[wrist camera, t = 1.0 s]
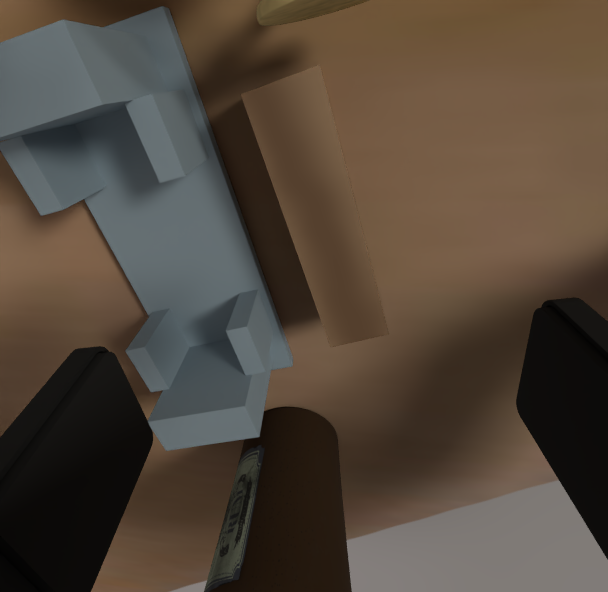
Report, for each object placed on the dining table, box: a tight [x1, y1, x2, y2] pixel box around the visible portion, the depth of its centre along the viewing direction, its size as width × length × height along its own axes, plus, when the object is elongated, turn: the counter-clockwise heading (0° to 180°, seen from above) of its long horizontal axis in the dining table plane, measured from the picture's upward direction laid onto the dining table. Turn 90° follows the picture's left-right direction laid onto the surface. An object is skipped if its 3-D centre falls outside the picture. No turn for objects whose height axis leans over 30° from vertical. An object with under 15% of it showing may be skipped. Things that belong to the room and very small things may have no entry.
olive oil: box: [204, 407, 352, 592], centre depth 29 cm, size 11×11×25 cm
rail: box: [241, 65, 389, 347], centre depth 25 cm, size 4×16×6 cm, turn 18°
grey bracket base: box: [0, 6, 293, 451], centre depth 25 cm, size 10×26×9 cm, turn 15°
